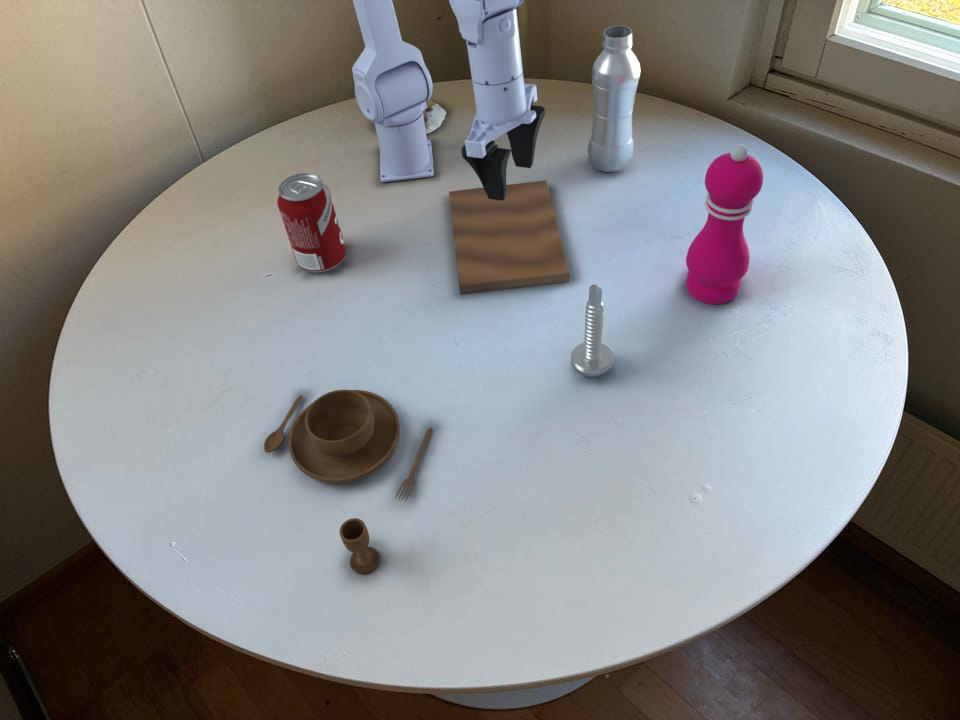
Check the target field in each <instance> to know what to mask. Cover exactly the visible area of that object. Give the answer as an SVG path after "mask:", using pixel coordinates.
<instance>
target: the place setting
mask: <svg viewBox="0 0 960 720" xmlns="http://www.w3.org/2000/svg"><path fill="white" fill-rule="evenodd" d="M302 399H303V395H302V394H301V395H299V396H298V397H296V399H295V401H294V402H293V404H292V405H291V407H290V409H289V411H288V412H287V414H286V415H285V417H284V419H283V421H282V422H281V424H280V425H279V427H278V428H277V429H275V430H274V431H272V432H271V433H270V434H269V435H268V436H267V437H266V438H265V439H264V443H263V450H264V452H265V453H273V452H274V451H275V450H277V449H278V448H279V447H280V446H281V445H282V443H283V441H284V438H285V432H284V430H285V427H286V426H287V424H288V422H289V420H290V419H291V417H292V416H293V414H294V413H295V411H296V410H297V408H298V407H299V405H300V404H301V401H302ZM432 430H433V427H432V426H431V427H430V426H429V427H428V429H427V430H426V433H425V435H424V437H423V438H422V439H423V440H422V442H421V443H420V447H419V449H418V452H417V453H416V457H415V459H414V461H413V464H412V467H411V469H410V471H409V474H408V477H407V478H405V479H404V480H403V481H402V483H401V485H400V487H399V489H398V491H397V493H396V494H395V497H394V500H396V499H397V501H399V500H400V498H401V497H402V498H401V501H403V500H404V498H405V497H406V498H405V500H404V502H406V501H408V499H409V497H410V495H411V493H412V492H413V489H414V487H415V484H416V482H415V479H414V476H415V474H416V470H417V468H418V466H419V464H420V461H421V459H422V456H423V454H424V451H425V449H426V446H427V444H428V442H429V439H430V437H431V434H432ZM400 435H401V425H400V419H399V415H398V413H397V411H396V409H395V408H394V407H393V405H392V404H391V403H390V402H389V401H388V400H387V399H385V397H383V396H381V395H379V394H377V393H375V392H372V391H368V390H362V389H337V390H332V391H329V392H326V393H324V394H322V395H320V396H319V397H318V398H316V399H315V400H314V401H312V402H311V403H310V404H309V405H307V406H306V407H305V408H304V409H303V410H302V411H301V412H300V413H299V414H298V416H297V417H296V418H295V420H294V422H293V423H292V426H291V427H290V431H289V434H288V441H287V442H288V443H287V445H288V451H289V455H290V458H291V460H292V462H293V463H294V465H295V466H296V467H297V469H298V470H299V471H300V472H302V473H303V474H304V475H305V476H306V477H308V478H310V479H312V480H315V481H317V482H321V483H324V484H330V485H340V484H341V485H342V484H343V485H344V484H349V483H354V482H357V481H360V480H363V479H365V478H367V477H369V476H371V475H373V474H375V473H376V472H377V471H378V470H380V469H381V468H382V467H383V466H385V465H386V463H387V462H388V461H389V460H390V459H391V458H392V457H393V455H394V453H395V451H396V449H397V446H398V444H399V441H400ZM403 486H404V487H403ZM398 495H399V496H398ZM406 495H407V496H406ZM397 497H398V498H397ZM339 536H340V540H341V541H342V543H343V546H344V547H345V548H346V549H347V551H349V552H351V553H352V554H351V556H350V559H349V566H350V568H351V570H352V571H353V572H355V573H356V574H360V575H367V574H370V573H371V572H373V571H374V570H375V569H377V567H378V566H379V563H380V554H379V552H378V551H377V549H375V548H374V547H373V546H369V544H370V534H369V530H368V528H367V525H366V523H365V521H363V519H361V518H357V517H353V518H349V519H346V520H345V521H344V522H343V523H342V524H341V526H340V527H339Z"/></svg>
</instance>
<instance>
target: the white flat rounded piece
mask: <svg viewBox="0 0 960 720" xmlns="http://www.w3.org/2000/svg"><path fill="white" fill-rule="evenodd" d="M434 101H435V99H431V98H430V99H429V100H427V101H426V105H427V109H425V110H424V111H423V116H424V123H425V129H426V135H427V134H430V133H433V132H434V131H435V130H437V129H438V128H440V127H441V125H442V122H443V121H444V120H445V118H446V115H447V114H448V112H447V111H446V109H444V108H443V107H442V106H441V105H440V104H438V103H434Z"/></svg>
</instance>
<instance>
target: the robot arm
mask: <svg viewBox="0 0 960 720" xmlns="http://www.w3.org/2000/svg"><path fill="white" fill-rule="evenodd" d="M524 1H525V0H448V2H449V6H450V7H451V10H452V12H453V14H454V16H455V17H456V21H457V24H458V31H459V33H460V34H461V38H462V39H463V40H465V41H466V42H465V43H466V49H467V55H468V61H469V69H470V75H471V82H472V88H473V95H474V102H475V108H476V109H475V110H476V113H475V115H474V119H473V122H472V126H471V129H470V132H469V135H468V136H467V138H466V139H465V140H464V145H462V148H460V151H461V157H462V158H463V160H464V161H466V163H468V165H469V166H470V167H471V168H472V170H473V171H474V173H475V174H476V176H477V178H478V179H479V181H480V183H481V186H482V188H484V190H485V192H486V194H487V196H488V198H489V199H494V200H500V201H503V200H504V199H505V197H506V185H507V168H508V163H509V159H510V156H512V160H513V163H514V165H515V167H518V168H524V169H525V168H526V169H531V168H532V167H533V164H534V159H535V152H536V144H537V140H538V135H539V131H540V127H541V126H542V122H543V120H544V118H545V115H546V108H545V106H542V105H535V103H536V102H537V101H538V92H537V85H536V84H532V83H525V81H524V72H523V71H524V69H523V61H522V59H523V58H522V51H521V41H520V30H519V20H518V12H517V11H518V10H517V8H518V7H520V6H521V5H522V4H523V2H524ZM352 3H353V7H354V11H355V15H356V18H357V21H358V25H359V28H360V32H361V36H362V39H363V42H364V43H363V44H364V49H363V51H361V54H360V55H359V57H358V58H357V60H356V61H355V62H354V64H353V66H352V68H351V71H352V77H353V83H354V96H355V99H356V103H357V105H358V107H359V109H360V110H361V112H362V114H363V115H364V117H365V118H367V119H368V120H369V121H370V122H372V123H373V124H374V127H375V132H376V137H377V142H378V147H379V155H380V156H379V158H380V159H379V162H380V163H379V165H380V169H379V170H380V171H379V173H380V174H379V177H380V182H381V183H388V182H397V181H405V180H413V179H423V178H431V177H433V176H434V175H435V171H434V170H435V169H434V161H433V148H432V141H431V140H430V139H428V138H427V134H426V129H425V123H424V116H423V111H424V110H425V109H427V105H426V101H427V100H429V99H430V100H431V98H432V95H433V89H434V88H433V87H434V85H433V80H432V77H431V73H430V71H429V70H428V67H427V65H426V63H425V61H424V58H423V55H422V51H421V50H420V49H419V48H418V47H416V46H415V45H413V44H411V43H408V42H406V41H403V39H402V35H401V31H400V27H399V23H398V22H399V21H398V19H397V14H396V11H395V7H394V3H393V0H352ZM505 134H506V136H507V138H508V142H509V147H510V149H509V148H501V147H499V145H498V144H496V140H497V139H498V138H500V137H501V136H503V135H505Z"/></svg>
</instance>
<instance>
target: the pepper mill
mask: <svg viewBox="0 0 960 720" xmlns="http://www.w3.org/2000/svg"><path fill="white" fill-rule="evenodd" d="M763 184H764V171H763V167H762V165H761V164H760V162H759V161H758V160H757V159H756V158H754V157H753V156H751V155H749V149H748V147H747V146H746V145H745V144H741V143H740V144H739V143H737V144H736V145H734V146H733V147H732V148H731V149H730V152H727V153H723V154H721V155H719V156H717V157H716V158H715V159H714V160H713V161H712V162H710V164H709V166H708V168H707V170H706V173H705V177H704V186H705V190H706V192H707V194H706V196H705V197H706V200H705V202H704V204H705V205H704V206H705V210H706V211H707V213H708V215H707V220H706V222H705V224H704V226H703V227H702V229H701V230H700V231H699V232H698V233H697V235H696V236H695V237H694V239H692V242H691V244H690V245H689V247H688V249H687V254H686V257H685V264H686V267H687V270H688V272H687V275H686V281H685V287H686V290H687V292H688V294H689V295H690V296H691V297H692V298H694V299H695V300H697V301H699V302H701V303H703V304H708V305H721V304H725V303H728V302H730V301H732V300H733V299H735V297H736V296H737V295H738V293H739V290H740V286H741V280H742V279H743V278H744V276H745V275H746V274H747V272H748V270H749V267H750V266H749V265H750V257H751V255H750V249H749V246H748V243H747V240H746V238H745V232H744V223H745V219H746V217H748V216H749V215H750V214H751V212H752V210H753V205H754V198H757V196H758V195H759V193H760V192H761V190H762V188H763Z"/></svg>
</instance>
